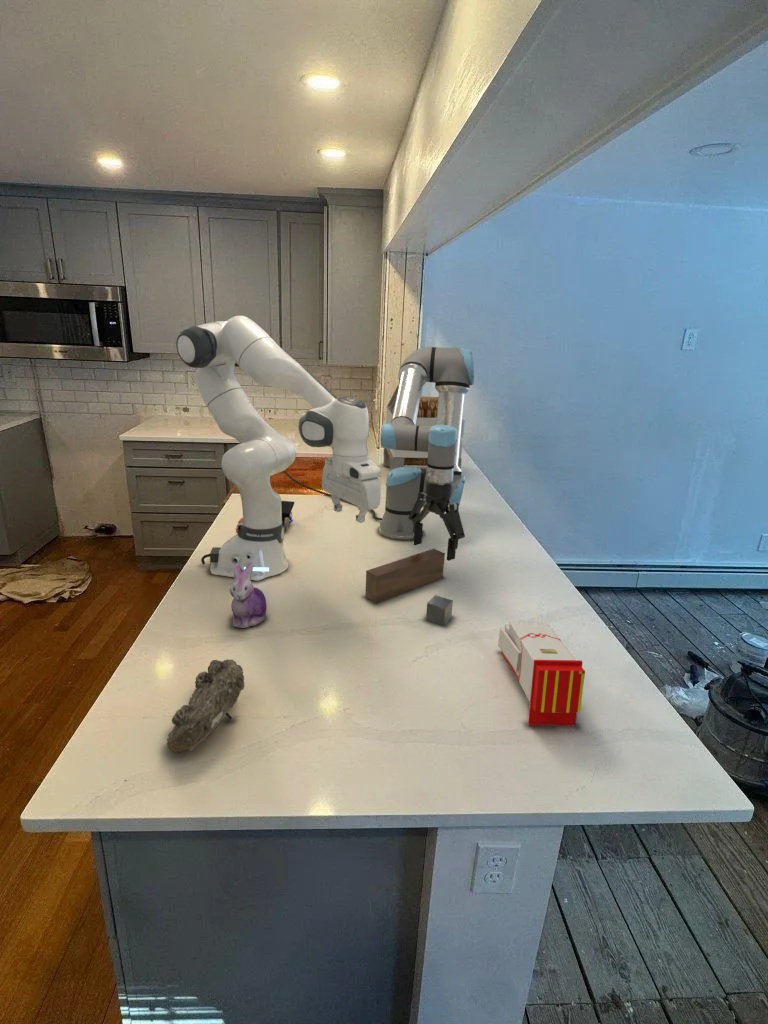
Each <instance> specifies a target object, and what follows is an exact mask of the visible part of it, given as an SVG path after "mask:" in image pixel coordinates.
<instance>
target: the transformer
mask: <svg viewBox="0 0 768 1024" xmlns="http://www.w3.org/2000/svg"><path fill="white" fill-rule="evenodd" d="M398 388H399V384H398V385H397V386H396V388H395V390H394V392H393V394H392V395H391V398H390V400H389V402H388V404H387V405H386V413H385V414H386V415H385V423H391V419H392V414H393V410H394V405H395V401H396V396H397V392H398ZM438 398H439V396H421V398H420V403H419V409H418V414H417V420H416V425H419V426H435V425H436V421H437V410H438ZM464 429H465V419H464V418H462V425H461V436H460V447H459V459H458V467H459V468H460V469H461V470H462V461H463V460H462V453H463V442H464V441H463V440H462V439H463V438H464V431H465V430H464ZM427 462H428V452H419V451H406V450H393V449H386V448H383V466H384V467H388V468H389V472H390V471H391V470H393V469H396V468H400V467H405V466H406V467H417V466H418V467H427Z"/></svg>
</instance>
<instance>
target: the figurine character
mask: <svg viewBox="0 0 768 1024" xmlns="http://www.w3.org/2000/svg"><path fill="white" fill-rule="evenodd" d="M294 505H295V501H289V500H281V508H282V521H283V527H284V533H285V532H286V531H287V529H288V528H289V527H290V524H291V523H293V522H294V520H293V518H292V517H293V512H292V511H293V508H294Z"/></svg>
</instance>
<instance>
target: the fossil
mask: <svg viewBox="0 0 768 1024" xmlns="http://www.w3.org/2000/svg"><path fill="white" fill-rule="evenodd" d="M243 670H244V669H243V667H242V665H240V664H237V662H236V661H235V660H234V659H232V658H231V659H227V658H226V659H224V660H223V661H222V660H217V659H212V660H211V661H210V663H209V665H208V666H207V671H201V672H199V673H198V674H197V675H196V676H195V680H194V684H195V685H194V687H195V689H194V690H193V693H192V694H191V697H190V698H189V700H188V704H184V705H182V706H181V707H180V709H177V710H176V711H175V713H174V715H173V716H172V718H171V723H172V724H173V727H172V730H171V731H170V732H168V734H167V738H166V741H167V742H166V745H167V749H168V750H169V751H173V752H174V753H176V754H178V753H182V752H188V751H189V752H192V751H193V750H195V748H196V747H197V746H199V744H200V743H201V742H203V741H204V740H205V739H206V738H207V737H208V736H209V735H210V734H211V733H212V732H214V730H215V729H217V727H218V726H219V724H220V722H221V721H222V720H223V719H224V718H225V716H226V717H227V719H229V720H233V717H232V715H230V714H229V710H230V709H231V708H234V706H235V704H236V703H237V702H238V699H239V697H240V695H241V693H242V691H243V690H245V689H244V688H245V675H244V671H243Z"/></svg>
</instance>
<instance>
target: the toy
mask: <svg viewBox="0 0 768 1024" xmlns="http://www.w3.org/2000/svg"><path fill="white" fill-rule="evenodd" d="M498 636H499V637H498V642H497V646H498V647H499V649H500V653H501V654H502V656H503V657H504V659H505V661H506V663H507V664H508V665H509V667H510V669H511V671H512V672H513V674H514V676H515V677H516V679H517V680H518V681H519V684H520V686H521V688H522V690H523V692H524V694H525V696H526V698H527V700H528V701H529V710H528V719H527V724H528V726H573V727H575V726H576V724H577V723H576V722H577V715H578V714H581V710H582V709H581V708H582V701H583V692H584V683H585V674H586V670H585V669H584V668H583V662H584V661H583V660H581V659H580V660H578V659H576V657H575V656H574V655H573V654H572V653H571V651H570V650H569V648H568V647H567V645H565V644H564V642H563V641H562V640H561V638H560V637H559V636H558V635H557V633H556V631H555V630H554V629H553V628H552V627H551V626H550V624H549V622H527V621H526V622H525V621H523V622H521V621H509V624H504V628H503V627H500V628H499V634H498Z"/></svg>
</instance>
